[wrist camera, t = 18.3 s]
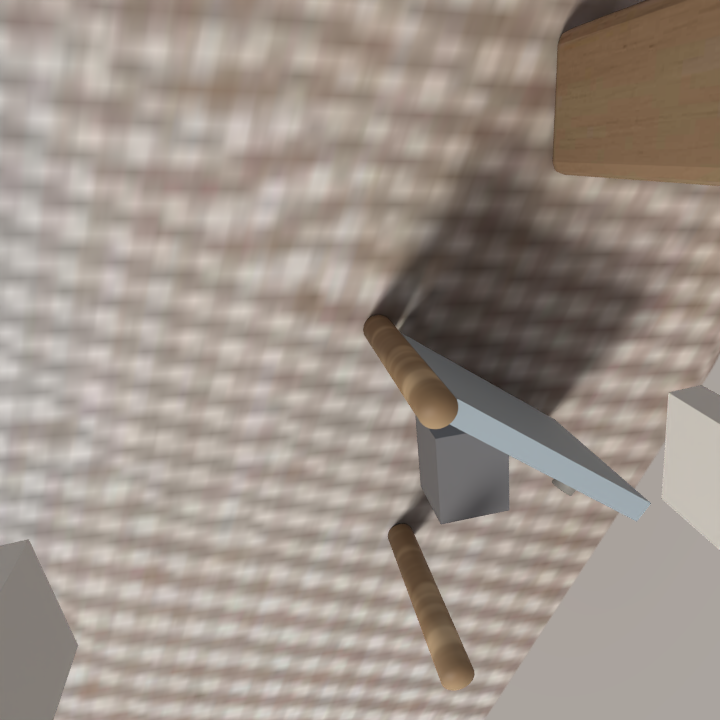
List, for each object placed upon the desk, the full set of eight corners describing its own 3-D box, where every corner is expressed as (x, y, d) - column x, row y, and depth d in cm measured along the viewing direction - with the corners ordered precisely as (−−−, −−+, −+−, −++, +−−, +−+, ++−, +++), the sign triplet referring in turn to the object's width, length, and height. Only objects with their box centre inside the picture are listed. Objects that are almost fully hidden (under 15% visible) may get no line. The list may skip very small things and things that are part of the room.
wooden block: (676, 25, 44) (993, -68, 25) (661, 165, 47) (930, 174, 29) (552, 31, 42) (793, -63, 24) (546, 175, 46) (751, 191, 27)
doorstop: (414, 407, 51) (435, 439, 45) (479, 395, 51) (508, 425, 46) (420, 485, 53) (440, 524, 48) (482, 473, 54) (509, 510, 49)
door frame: (361, 317, 47) (415, 394, 32) (390, 312, 47) (457, 386, 32) (389, 547, 55) (442, 693, 40) (413, 542, 55) (475, 685, 40)
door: (377, 369, 47) (424, 447, 35) (401, 332, 47) (457, 398, 34) (531, 451, 53) (619, 543, 40) (554, 419, 52) (651, 503, 40)
